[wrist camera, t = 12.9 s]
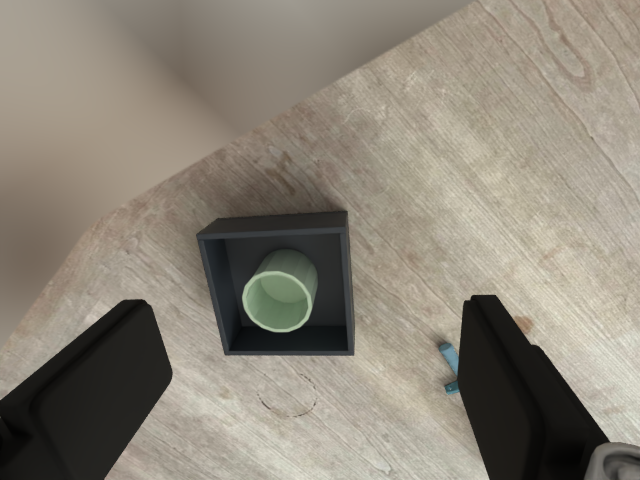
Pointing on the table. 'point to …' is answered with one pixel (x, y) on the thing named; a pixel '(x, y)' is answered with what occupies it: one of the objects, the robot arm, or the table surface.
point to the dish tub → (248, 252)
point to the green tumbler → (281, 291)
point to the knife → (453, 362)
